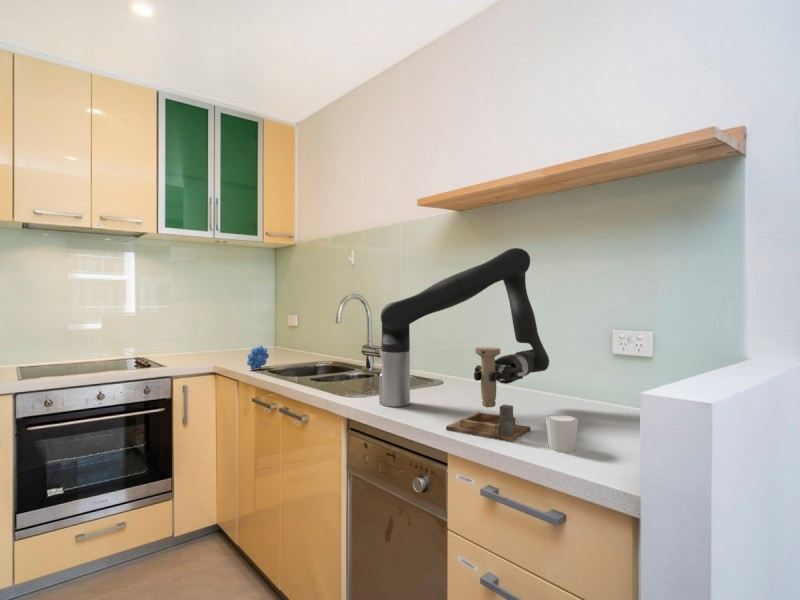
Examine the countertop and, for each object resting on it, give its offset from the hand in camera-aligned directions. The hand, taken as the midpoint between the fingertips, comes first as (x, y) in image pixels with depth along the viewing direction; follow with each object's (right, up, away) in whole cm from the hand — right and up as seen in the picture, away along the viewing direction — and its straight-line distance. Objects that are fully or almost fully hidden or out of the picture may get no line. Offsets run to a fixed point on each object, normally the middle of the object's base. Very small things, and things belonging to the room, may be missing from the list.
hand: (483, 377), depth 116 cm
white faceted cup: (+15, -14, -13) cm, 25 cm away
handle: (+2, -8, +2) cm, 9 cm away
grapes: (-93, -15, +114) cm, 147 cm away
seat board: (+2, -14, +2) cm, 14 cm away
